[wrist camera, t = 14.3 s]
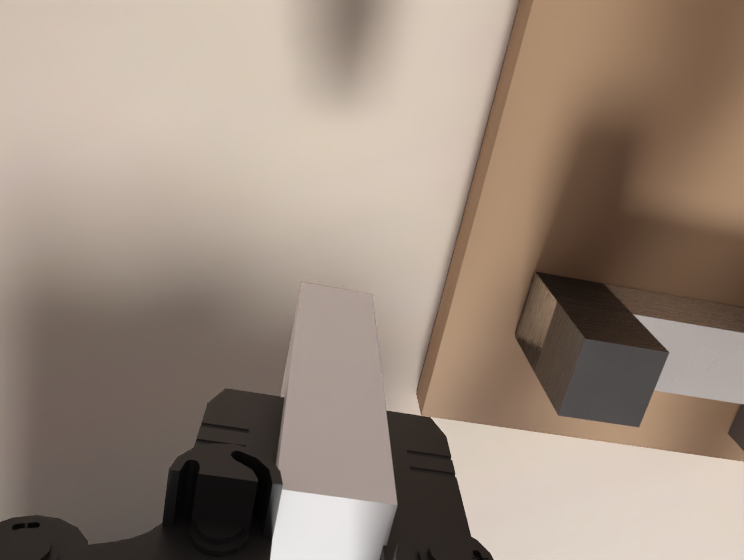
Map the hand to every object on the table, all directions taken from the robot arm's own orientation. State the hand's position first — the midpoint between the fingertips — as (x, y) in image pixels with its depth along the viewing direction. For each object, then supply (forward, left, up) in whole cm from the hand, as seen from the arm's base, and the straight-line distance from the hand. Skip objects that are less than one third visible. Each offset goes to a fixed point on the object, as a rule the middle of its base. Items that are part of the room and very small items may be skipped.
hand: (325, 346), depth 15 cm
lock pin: (+11, 0, -4) cm, 11 cm away
